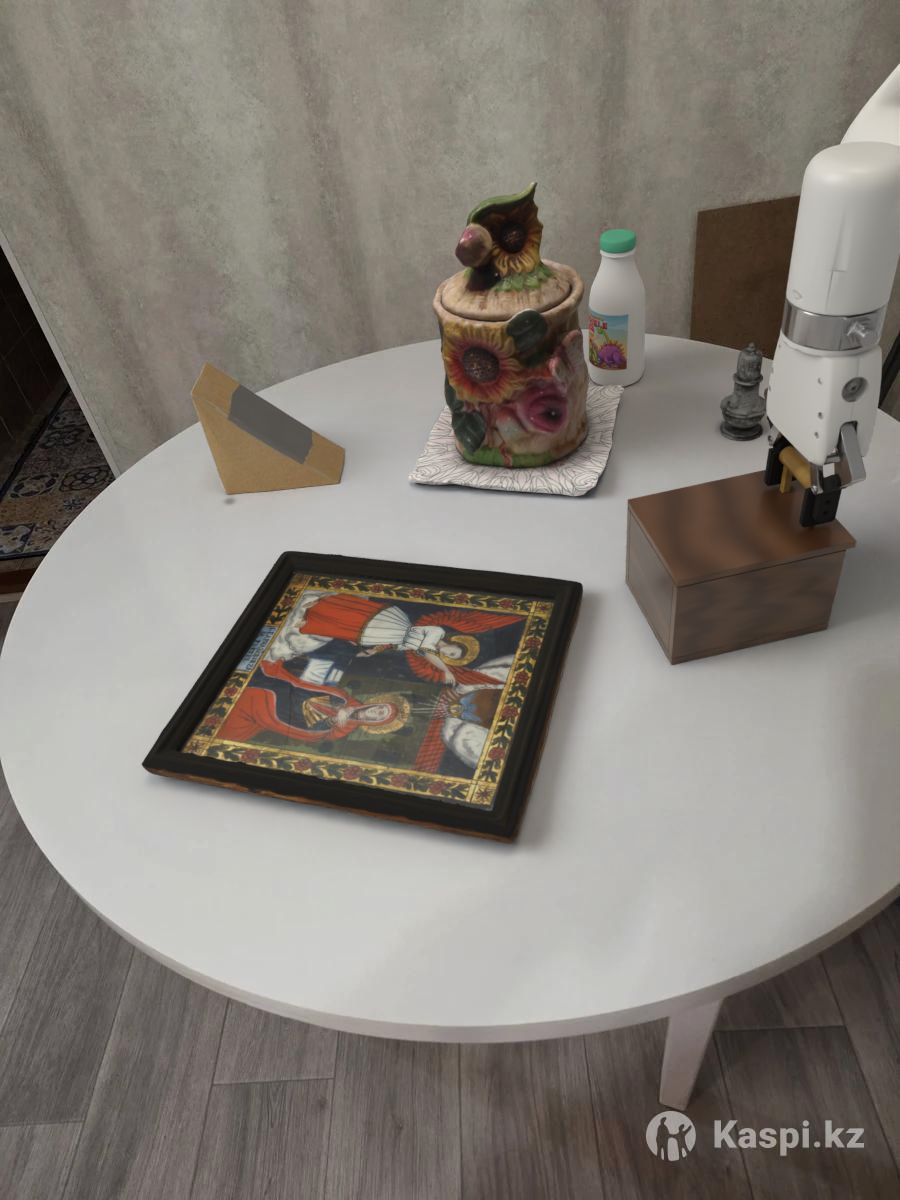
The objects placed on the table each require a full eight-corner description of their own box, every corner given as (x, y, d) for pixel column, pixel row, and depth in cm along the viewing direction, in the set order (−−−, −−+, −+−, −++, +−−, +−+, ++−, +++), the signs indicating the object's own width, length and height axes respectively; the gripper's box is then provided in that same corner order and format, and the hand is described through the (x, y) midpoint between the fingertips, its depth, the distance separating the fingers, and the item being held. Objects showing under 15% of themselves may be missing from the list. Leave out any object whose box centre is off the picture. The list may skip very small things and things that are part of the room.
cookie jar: (455, 391, 126) (426, 156, 105) (625, 397, 120) (631, 146, 98) (404, 490, 109) (356, 232, 88) (599, 503, 103) (599, 228, 81)
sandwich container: (340, 484, 112) (314, 379, 102) (225, 495, 113) (188, 393, 103) (346, 448, 118) (322, 346, 108) (237, 459, 120) (204, 359, 110)
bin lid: (786, 471, 87) (794, 422, 83) (855, 547, 77) (868, 496, 73) (627, 505, 85) (628, 457, 82) (677, 587, 76) (681, 537, 72)
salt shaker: (736, 447, 108) (747, 358, 100) (707, 426, 112) (716, 340, 104) (775, 432, 109) (789, 344, 101) (745, 412, 113) (756, 326, 105)
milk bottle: (619, 357, 128) (622, 218, 115) (654, 375, 123) (661, 233, 110) (578, 374, 126) (575, 235, 113) (611, 394, 121) (613, 250, 107)
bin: (766, 549, 93) (778, 473, 87) (827, 629, 84) (846, 550, 77) (625, 581, 92) (627, 506, 85) (671, 665, 83) (677, 588, 76)
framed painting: (585, 570, 94) (585, 550, 92) (560, 857, 69) (559, 838, 67) (259, 563, 102) (252, 544, 100) (130, 819, 77) (117, 800, 75)
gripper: (943, 356, 63) (888, 548, 75) (821, 270, 75) (791, 446, 87) (845, 376, 62) (805, 566, 74) (739, 286, 75) (720, 461, 87)
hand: (798, 500), depth 81 cm, fingers closed on bin lid, 6 cm apart
